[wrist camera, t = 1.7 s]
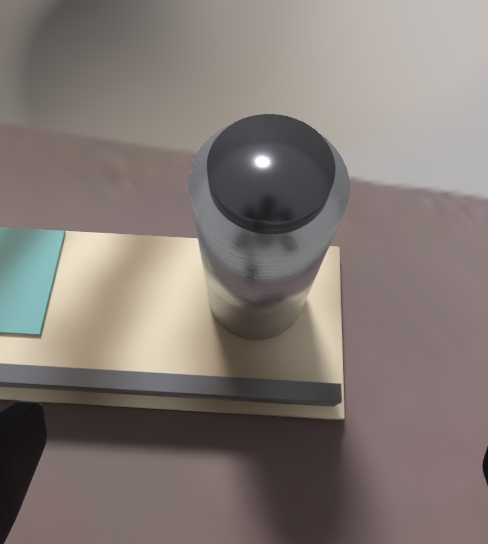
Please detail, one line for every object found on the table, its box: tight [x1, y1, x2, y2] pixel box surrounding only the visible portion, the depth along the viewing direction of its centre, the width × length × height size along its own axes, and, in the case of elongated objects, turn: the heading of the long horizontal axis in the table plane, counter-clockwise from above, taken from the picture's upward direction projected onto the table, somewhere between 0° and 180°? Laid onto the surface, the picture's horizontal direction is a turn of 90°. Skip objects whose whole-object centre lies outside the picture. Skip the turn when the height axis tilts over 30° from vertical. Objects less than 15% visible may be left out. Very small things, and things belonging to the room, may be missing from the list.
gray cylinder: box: [189, 114, 350, 340], centre depth 18 cm, size 5×5×11 cm
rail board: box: [0, 227, 344, 420], centre depth 22 cm, size 23×9×3 cm, turn 87°
